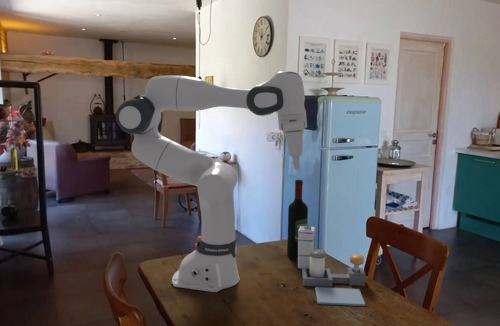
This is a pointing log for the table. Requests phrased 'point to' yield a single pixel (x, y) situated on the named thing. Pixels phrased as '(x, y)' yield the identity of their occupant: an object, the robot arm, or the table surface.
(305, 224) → the wine bottle
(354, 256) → the plunger
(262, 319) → the table surface
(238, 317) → the table surface
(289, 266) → the table surface
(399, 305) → the table surface
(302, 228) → the syrup box
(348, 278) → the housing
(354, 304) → the mat
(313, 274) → the white jar
